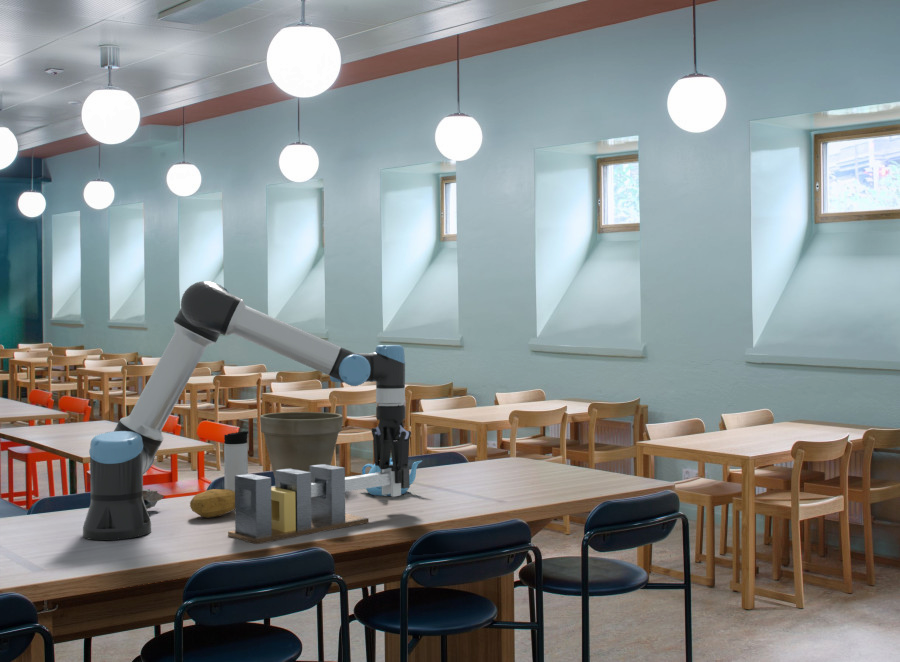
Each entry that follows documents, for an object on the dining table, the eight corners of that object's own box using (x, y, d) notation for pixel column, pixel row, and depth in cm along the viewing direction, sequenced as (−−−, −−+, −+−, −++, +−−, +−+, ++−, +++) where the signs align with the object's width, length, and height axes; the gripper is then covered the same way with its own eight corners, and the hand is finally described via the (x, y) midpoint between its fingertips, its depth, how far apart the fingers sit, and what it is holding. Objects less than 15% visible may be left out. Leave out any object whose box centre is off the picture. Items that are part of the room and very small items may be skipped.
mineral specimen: (132, 530, 252) (154, 523, 246) (108, 513, 248) (130, 506, 243) (149, 500, 259) (170, 493, 253) (126, 483, 255) (147, 475, 249)
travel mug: (243, 506, 257) (242, 432, 257) (220, 505, 259) (220, 432, 258) (252, 502, 263) (252, 429, 263) (230, 501, 265) (229, 429, 265)
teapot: (354, 492, 279) (353, 457, 279) (399, 486, 286) (399, 452, 286) (376, 499, 266) (375, 462, 266) (423, 494, 274) (422, 458, 274)
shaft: (297, 506, 223) (297, 482, 223) (284, 503, 227) (283, 479, 227) (409, 487, 248) (409, 466, 248) (395, 485, 252) (395, 464, 252)
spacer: (284, 532, 219) (284, 493, 219) (264, 526, 226) (263, 488, 226) (295, 530, 221) (295, 491, 221) (274, 524, 228) (274, 487, 228)
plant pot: (359, 482, 295) (358, 412, 295) (308, 495, 273) (307, 419, 273) (296, 477, 307) (295, 410, 307) (243, 488, 286) (242, 416, 286)
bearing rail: (256, 543, 212) (255, 481, 212) (228, 535, 221) (227, 475, 220) (368, 522, 234) (368, 465, 234) (338, 515, 243) (338, 461, 243)
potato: (185, 516, 245) (185, 489, 245) (234, 510, 251) (234, 484, 251) (195, 522, 237) (194, 494, 237) (245, 516, 243) (244, 489, 243)
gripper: (422, 405, 244) (422, 496, 244) (382, 402, 255) (382, 489, 255) (400, 406, 239) (400, 500, 239) (359, 403, 250) (360, 492, 250)
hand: (391, 494), depth 247 cm, fingers closed on shaft, 3 cm apart
